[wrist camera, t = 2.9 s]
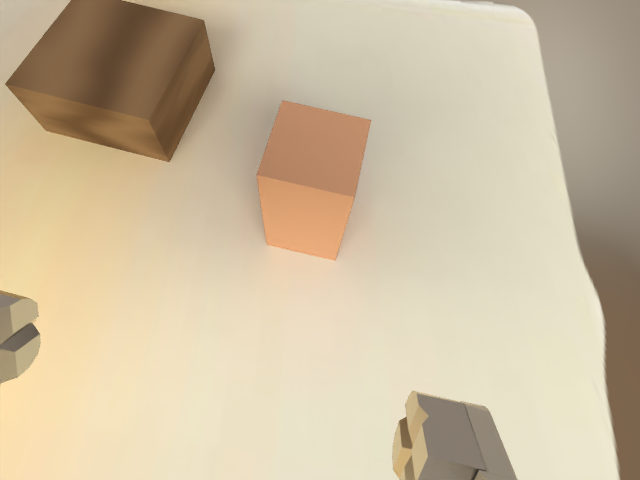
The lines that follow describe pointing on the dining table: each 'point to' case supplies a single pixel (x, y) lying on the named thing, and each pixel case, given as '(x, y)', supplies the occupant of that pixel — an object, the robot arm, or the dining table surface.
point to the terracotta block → (310, 178)
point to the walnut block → (117, 75)
